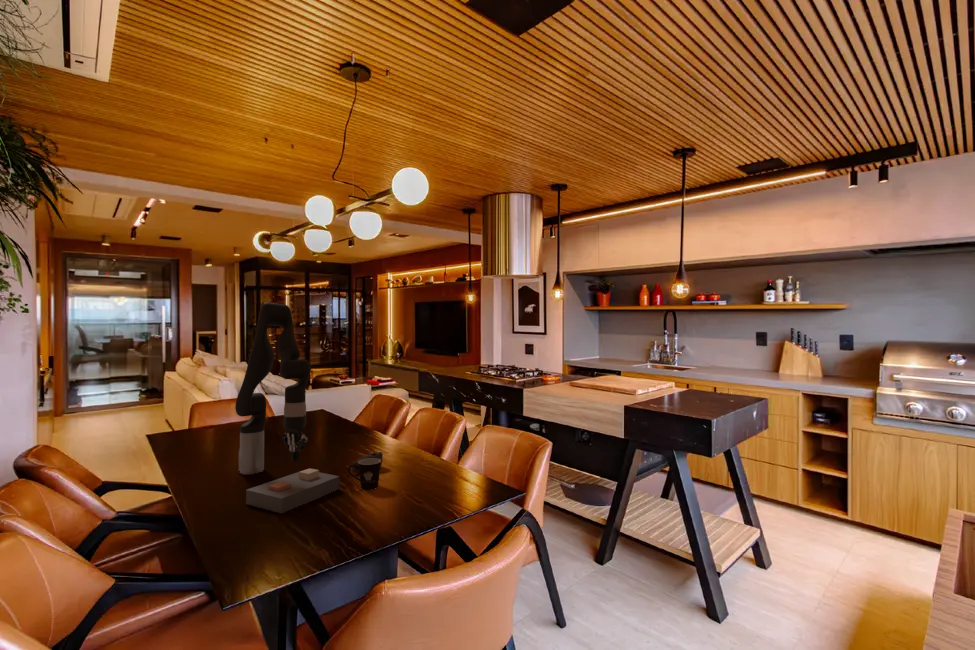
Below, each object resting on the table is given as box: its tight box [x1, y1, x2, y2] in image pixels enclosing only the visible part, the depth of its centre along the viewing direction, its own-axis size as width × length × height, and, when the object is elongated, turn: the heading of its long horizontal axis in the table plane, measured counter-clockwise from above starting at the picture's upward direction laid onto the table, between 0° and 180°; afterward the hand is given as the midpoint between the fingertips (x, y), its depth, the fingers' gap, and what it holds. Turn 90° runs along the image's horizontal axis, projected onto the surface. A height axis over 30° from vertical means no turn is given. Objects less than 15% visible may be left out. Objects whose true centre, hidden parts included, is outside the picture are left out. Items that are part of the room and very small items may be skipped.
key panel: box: [245, 471, 340, 514], centre depth 172 cm, size 18×26×5 cm
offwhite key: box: [298, 467, 320, 481], centre depth 178 cm, size 5×5×4 cm
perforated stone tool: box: [351, 451, 383, 474], centre depth 203 cm, size 15×5×7 cm, turn 134°
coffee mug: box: [347, 458, 382, 491], centre depth 182 cm, size 12×9×10 cm
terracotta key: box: [269, 482, 291, 492], centre depth 166 cm, size 5×5×4 cm
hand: (294, 461), depth 172 cm, fingers closed
